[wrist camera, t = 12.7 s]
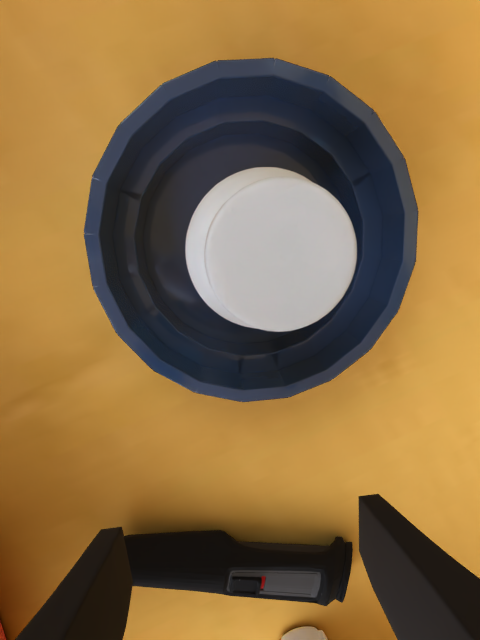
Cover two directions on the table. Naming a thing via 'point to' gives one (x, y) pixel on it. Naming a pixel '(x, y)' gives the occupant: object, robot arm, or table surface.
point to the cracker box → (2, 633)
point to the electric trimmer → (240, 566)
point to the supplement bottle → (270, 249)
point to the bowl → (200, 177)
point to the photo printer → (305, 634)
